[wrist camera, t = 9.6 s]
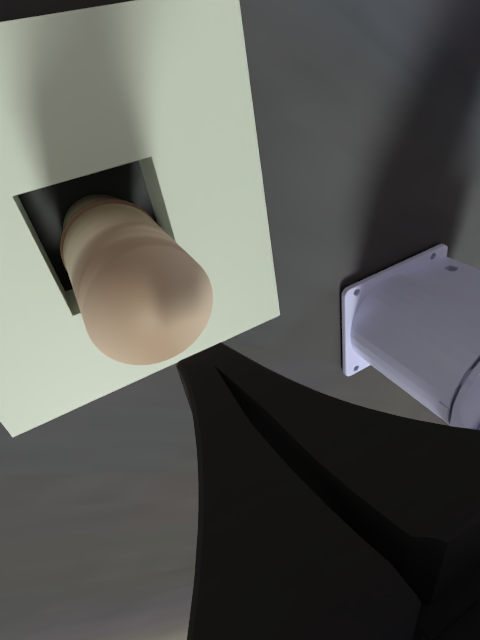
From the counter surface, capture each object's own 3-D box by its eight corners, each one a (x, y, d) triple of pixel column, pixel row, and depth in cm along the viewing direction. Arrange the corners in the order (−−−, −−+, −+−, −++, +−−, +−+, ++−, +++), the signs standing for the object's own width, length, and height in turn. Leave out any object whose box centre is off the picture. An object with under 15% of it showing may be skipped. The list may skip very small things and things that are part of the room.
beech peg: (127, 172, 17) (196, 225, 11) (156, 253, 19) (226, 333, 13) (36, 203, 16) (55, 279, 10) (77, 284, 18) (114, 386, 12)
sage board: (207, -4, 15) (237, -17, 14) (257, 296, 23) (279, 315, 22) (-232, 69, 11) (-280, 67, 9) (11, 402, 19) (12, 437, 17)
